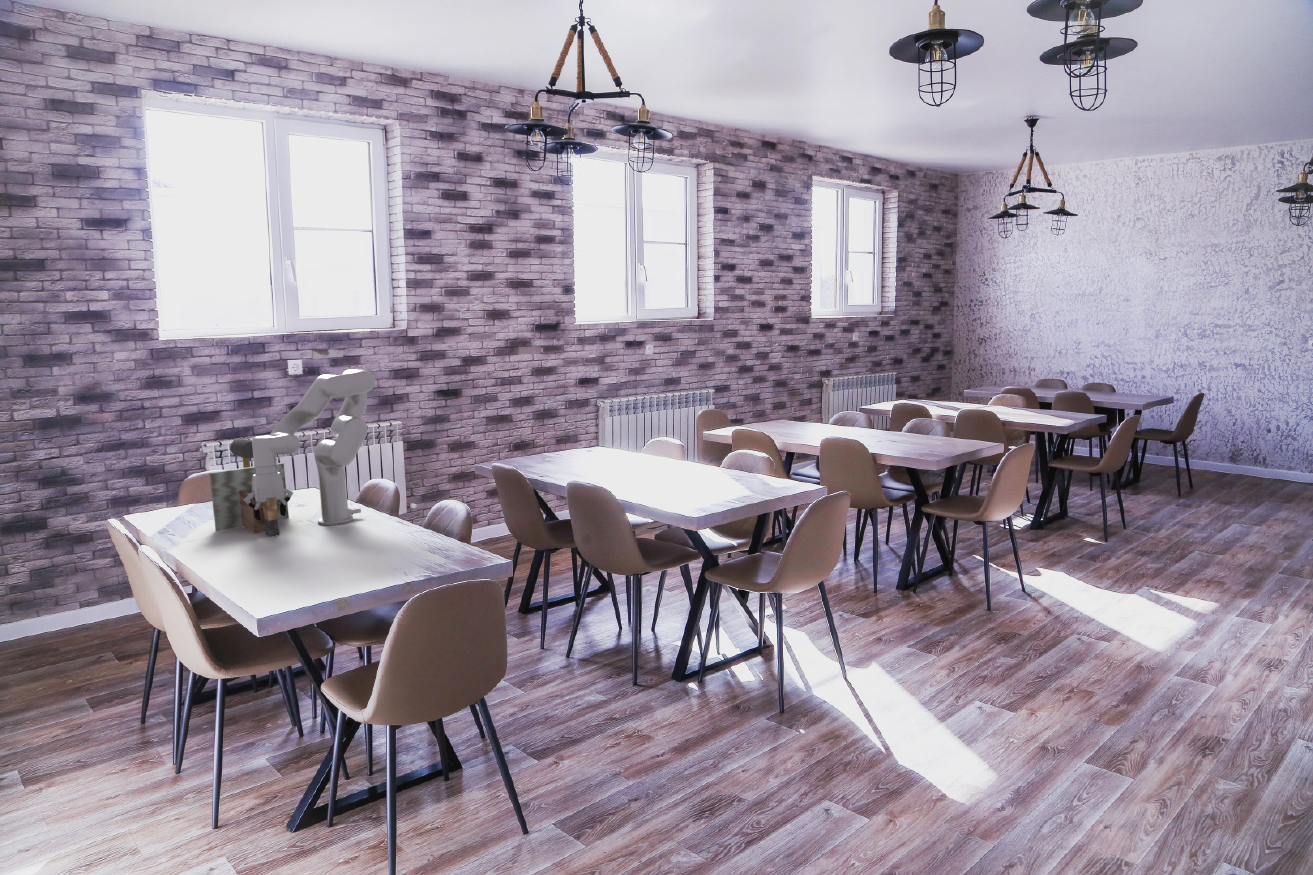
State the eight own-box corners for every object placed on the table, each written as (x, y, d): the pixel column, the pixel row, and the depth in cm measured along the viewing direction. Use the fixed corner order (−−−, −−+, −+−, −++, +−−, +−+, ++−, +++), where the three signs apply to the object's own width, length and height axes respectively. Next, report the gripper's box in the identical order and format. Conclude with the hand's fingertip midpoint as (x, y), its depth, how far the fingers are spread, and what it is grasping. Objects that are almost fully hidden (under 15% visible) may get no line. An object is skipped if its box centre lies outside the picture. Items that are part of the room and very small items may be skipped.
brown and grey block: (274, 532, 311) (271, 495, 309) (279, 535, 308) (275, 497, 305) (265, 534, 309) (262, 496, 307) (270, 536, 305) (266, 498, 303)
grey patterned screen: (287, 517, 334) (281, 462, 330) (301, 524, 322) (296, 467, 319) (215, 530, 317) (209, 472, 313) (228, 538, 305) (222, 478, 301)
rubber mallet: (267, 512, 343) (260, 439, 339) (249, 516, 338) (241, 441, 333) (253, 508, 351) (246, 436, 347) (235, 512, 346) (227, 439, 341)
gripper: (287, 465, 313) (291, 511, 316) (237, 472, 302) (241, 520, 304) (294, 468, 308) (299, 515, 310) (243, 475, 296) (248, 523, 299)
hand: (270, 517), depth 307 cm, fingers open, 8 cm apart
